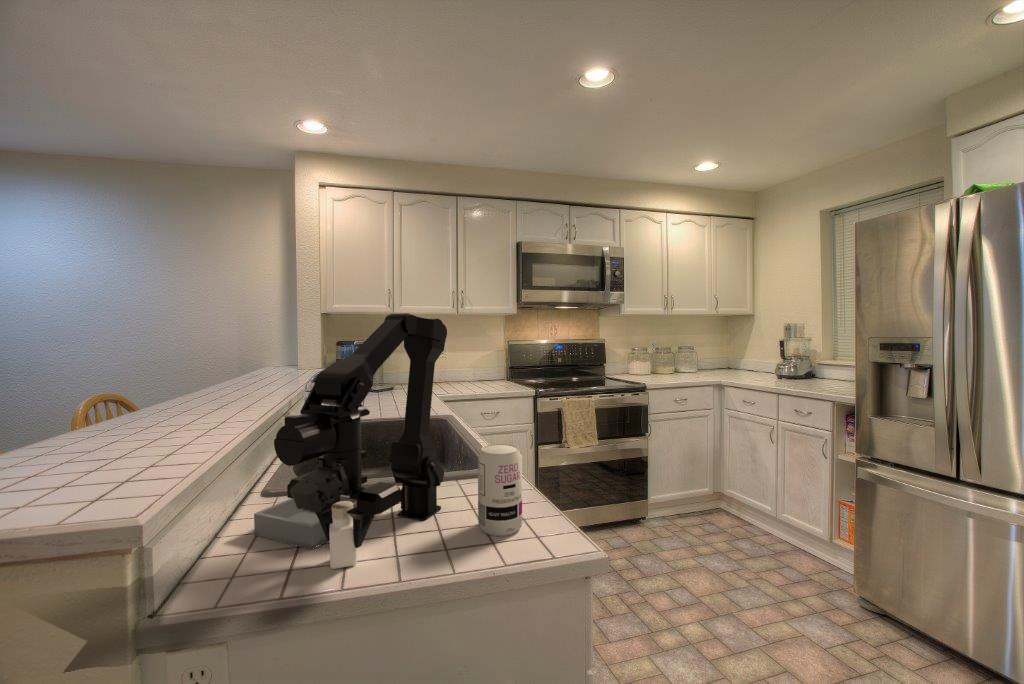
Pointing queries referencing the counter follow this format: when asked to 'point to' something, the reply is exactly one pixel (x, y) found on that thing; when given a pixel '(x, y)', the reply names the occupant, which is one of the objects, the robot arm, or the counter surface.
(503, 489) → the supplement can
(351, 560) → the salt shaker
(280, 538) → the bin
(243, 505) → the counter surface
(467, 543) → the counter surface
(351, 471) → the robot arm
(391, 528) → the counter surface
